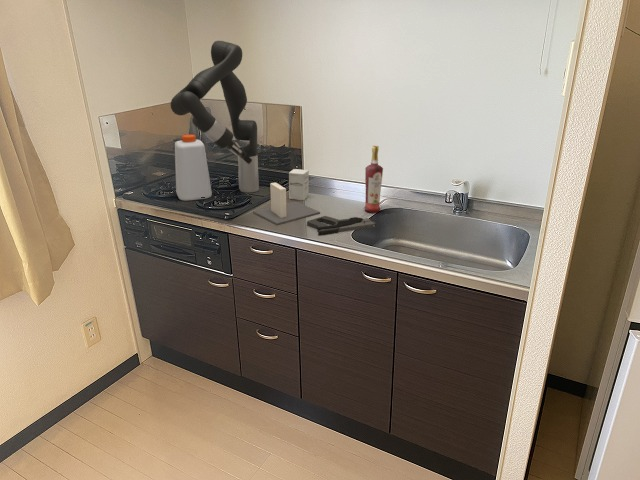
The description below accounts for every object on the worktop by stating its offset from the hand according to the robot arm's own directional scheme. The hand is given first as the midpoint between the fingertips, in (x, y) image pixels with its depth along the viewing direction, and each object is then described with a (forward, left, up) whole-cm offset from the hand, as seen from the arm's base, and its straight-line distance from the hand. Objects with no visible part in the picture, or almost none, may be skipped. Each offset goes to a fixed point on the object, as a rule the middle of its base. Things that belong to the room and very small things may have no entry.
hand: (250, 161), depth 200 cm
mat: (+4, +14, -24) cm, 28 cm away
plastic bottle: (-42, -6, -24) cm, 48 cm away
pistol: (+29, +23, -24) cm, 44 cm away
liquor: (+24, +45, -24) cm, 56 cm away
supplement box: (-10, +31, -24) cm, 40 cm away
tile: (+4, +10, -23) cm, 25 cm away
